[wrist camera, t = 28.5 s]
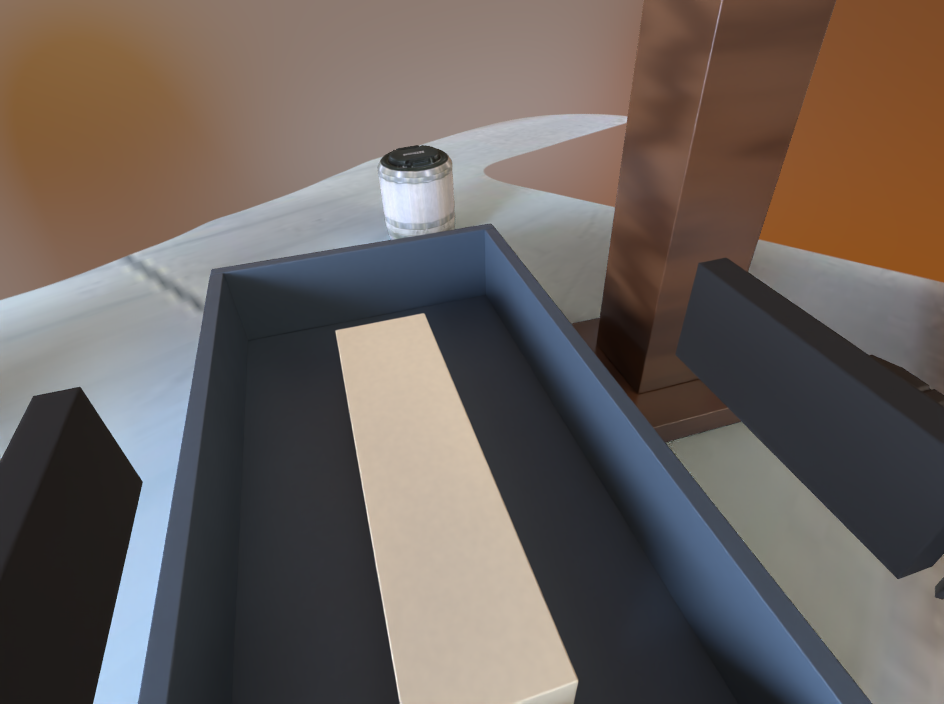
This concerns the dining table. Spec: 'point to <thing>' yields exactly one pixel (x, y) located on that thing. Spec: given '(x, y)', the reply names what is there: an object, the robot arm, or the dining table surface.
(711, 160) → the stand
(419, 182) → the camera lens
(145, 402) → the dining table surface
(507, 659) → the carton
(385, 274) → the bin
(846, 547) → the dining table surface
